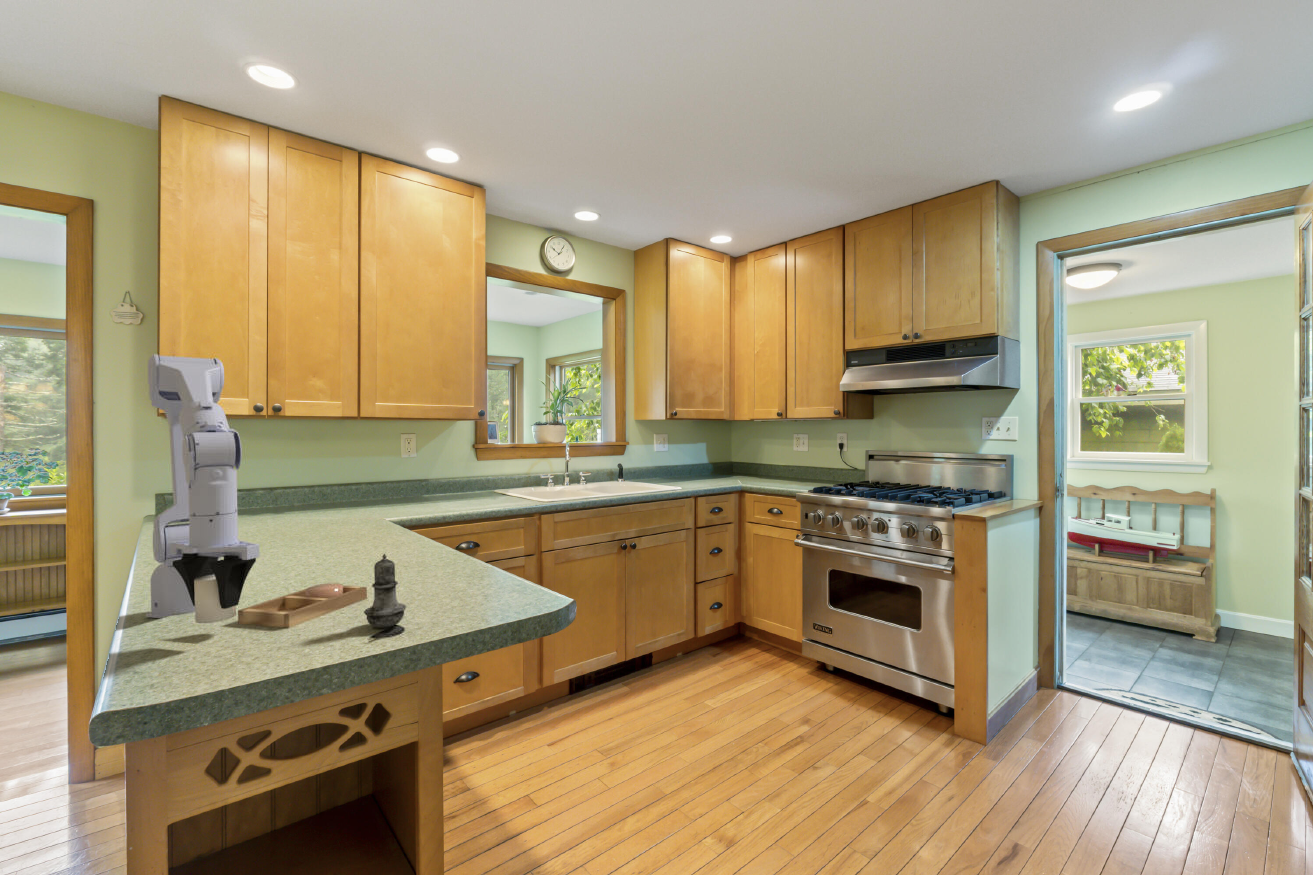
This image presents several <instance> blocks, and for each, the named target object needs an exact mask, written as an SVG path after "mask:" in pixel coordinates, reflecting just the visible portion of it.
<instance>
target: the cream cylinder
mask: <svg viewBox="0 0 1313 875" xmlns="http://www.w3.org/2000/svg"><path fill="white" fill-rule="evenodd" d="M194 592H195V612H194V621H195V623H197V624H211V623H218V622H222V621H226V620H229V619H233V618H234V617H236V616H237V605H236V606H233V607H230V608H227V609H222V608H221V605H220V600H219V591H218V585H217V581H216V578H215V575H214V574H213V575H207V576H203V577H199V578H196V579H195V580H194Z"/></svg>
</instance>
